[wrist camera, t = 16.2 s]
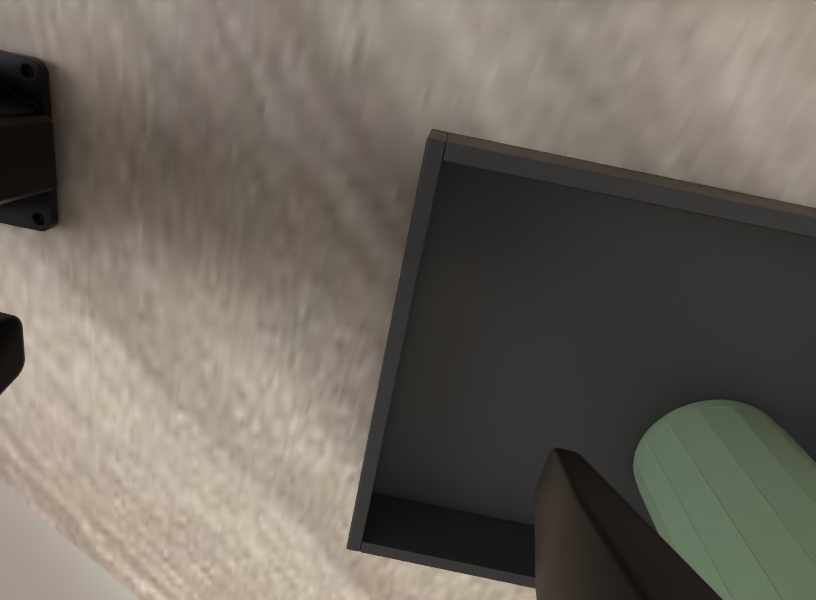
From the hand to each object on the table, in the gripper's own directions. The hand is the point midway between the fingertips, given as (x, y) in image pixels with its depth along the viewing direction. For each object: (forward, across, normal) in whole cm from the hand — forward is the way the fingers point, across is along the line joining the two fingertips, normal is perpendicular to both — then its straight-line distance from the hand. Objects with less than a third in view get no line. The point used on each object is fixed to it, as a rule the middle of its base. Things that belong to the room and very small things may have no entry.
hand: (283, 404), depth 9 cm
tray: (+13, -12, +5) cm, 18 cm away
